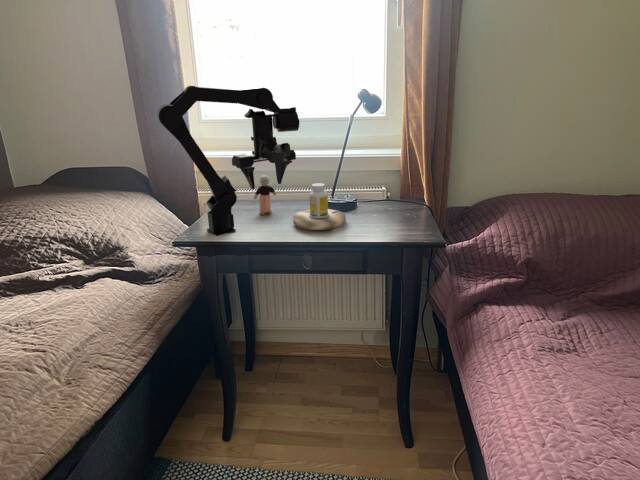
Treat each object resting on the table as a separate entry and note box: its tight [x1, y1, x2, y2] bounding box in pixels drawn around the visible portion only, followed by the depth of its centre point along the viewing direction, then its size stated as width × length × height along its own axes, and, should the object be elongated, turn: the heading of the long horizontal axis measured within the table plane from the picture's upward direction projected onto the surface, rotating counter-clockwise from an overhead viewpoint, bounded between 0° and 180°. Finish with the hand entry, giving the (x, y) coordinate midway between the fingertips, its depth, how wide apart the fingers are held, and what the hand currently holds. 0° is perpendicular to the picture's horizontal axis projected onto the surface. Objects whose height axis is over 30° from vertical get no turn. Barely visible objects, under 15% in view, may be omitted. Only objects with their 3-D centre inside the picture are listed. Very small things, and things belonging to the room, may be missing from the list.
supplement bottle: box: [309, 182, 329, 218], centre depth 138 cm, size 5×5×10 cm
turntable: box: [292, 208, 347, 231], centre depth 140 cm, size 16×16×2 cm
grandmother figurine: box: [253, 175, 277, 216], centre depth 151 cm, size 8×4×13 cm, turn 129°
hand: (266, 186), depth 137 cm, fingers open, 9 cm apart
